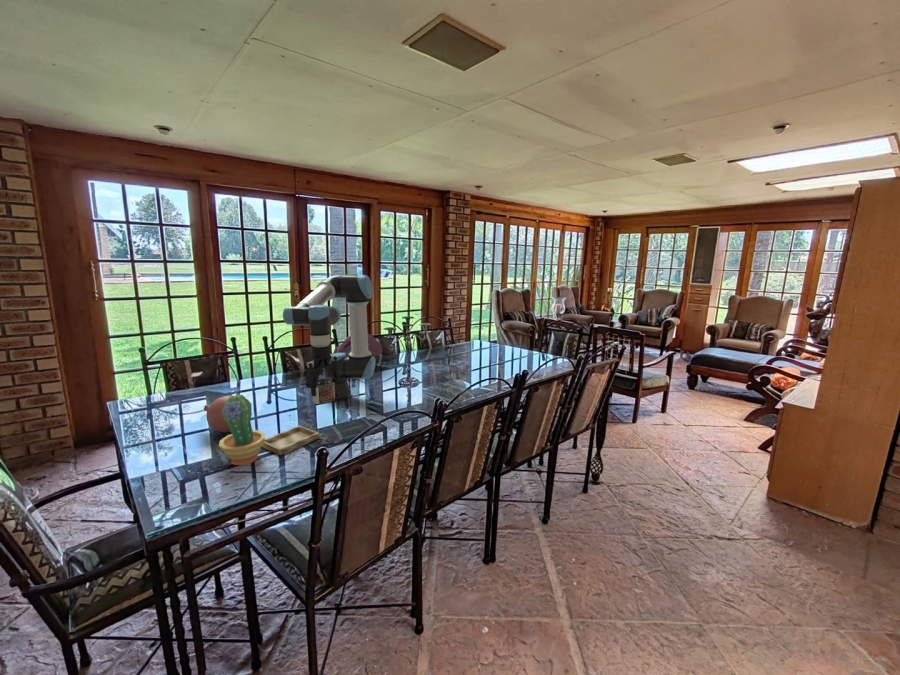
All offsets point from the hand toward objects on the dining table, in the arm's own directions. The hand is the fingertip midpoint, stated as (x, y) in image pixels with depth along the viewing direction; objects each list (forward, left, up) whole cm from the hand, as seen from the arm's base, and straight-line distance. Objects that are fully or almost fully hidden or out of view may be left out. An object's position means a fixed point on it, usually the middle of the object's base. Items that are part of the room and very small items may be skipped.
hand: (324, 400), depth 161 cm
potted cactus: (+28, -12, -17) cm, 35 cm away
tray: (+10, -10, -17) cm, 22 cm away
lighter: (0, 0, -1) cm, 1 cm away
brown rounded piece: (+19, -43, -17) cm, 50 cm away
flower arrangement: (-75, -64, -17) cm, 100 cm away
